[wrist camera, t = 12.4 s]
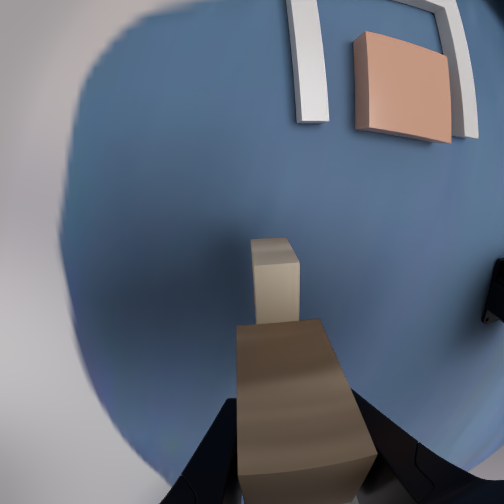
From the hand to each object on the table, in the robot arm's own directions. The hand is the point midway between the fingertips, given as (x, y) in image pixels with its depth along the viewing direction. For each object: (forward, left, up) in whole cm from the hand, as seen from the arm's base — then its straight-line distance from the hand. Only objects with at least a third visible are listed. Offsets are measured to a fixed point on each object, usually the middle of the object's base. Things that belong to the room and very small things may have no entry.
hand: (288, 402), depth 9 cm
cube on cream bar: (0, 0, -6) cm, 6 cm away
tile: (-9, -12, -11) cm, 19 cm away
